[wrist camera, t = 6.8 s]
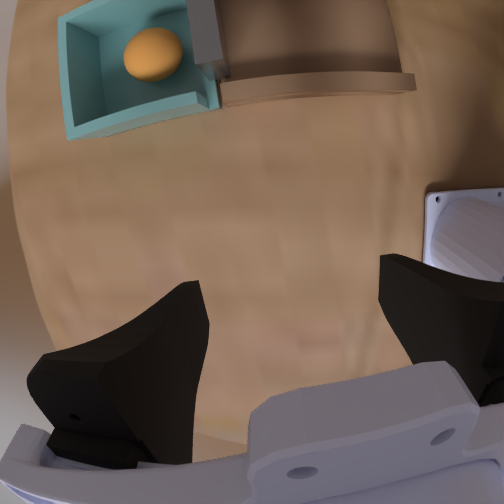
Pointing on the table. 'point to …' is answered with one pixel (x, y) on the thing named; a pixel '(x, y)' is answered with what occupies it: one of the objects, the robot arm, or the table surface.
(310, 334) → the table surface
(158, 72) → the ball
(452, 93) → the table surface
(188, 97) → the teal open box
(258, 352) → the table surface
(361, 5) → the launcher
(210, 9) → the plunger
